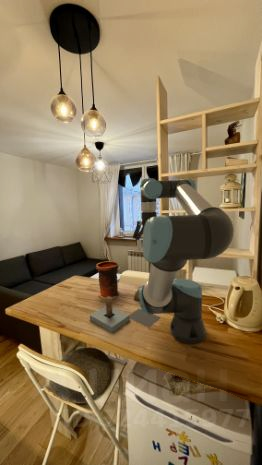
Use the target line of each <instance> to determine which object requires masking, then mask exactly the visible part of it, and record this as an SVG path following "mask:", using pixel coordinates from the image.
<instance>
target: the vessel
mask: <svg viewBox="0 0 262 465" xmlns="http://www.w3.org/2000/svg"><path fill="white" fill-rule="evenodd" d="M119 267H120V266H119V263H118V262H116V261H112V260H108V261H107V260H106V261H101V262H99V263H97V264H96V265H95V269H96V271H97V273H98V284H99V285H98V286H99V291H100V293H99V294H98V296H99V297H100V298H101V299H105V300H106V297H109V296H110V297H112V299H114V298H116V297H117V296H119V295H120V292H119V288H118V285H119V284H118V283H119V282H118V273H119V271H118V269H119Z"/></svg>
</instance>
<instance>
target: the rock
mask: <svg viewBox="0 0 262 465" xmlns="http://www.w3.org/2000/svg"><path fill="white" fill-rule="evenodd" d="M133 300H134V301H140V297H139V288H138V289H137V291H135V292H134V296H133Z"/></svg>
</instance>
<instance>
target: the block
mask: <svg viewBox="0 0 262 465" xmlns="http://www.w3.org/2000/svg"><path fill="white" fill-rule="evenodd" d="M112 312H113V316H112V317H111V318H107V314H106V305H104V306H103V307H102V308H100V309H99V308H98V310H96V311H95V312H93V313H91V314H89V321H91V322H93V323H94V324H96V325H98V326H100V327H102V328H103V329H105V330H107V331H109V332H110V333H114V332H115V331H117V330H118V329H119V328H122V326H124V325H125V324H126V323H128V322H129V321H131V319H130V314H128V313H126V312H123V311H122V310H120V309H117V308H115V307H113V306H112Z"/></svg>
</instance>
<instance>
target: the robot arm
mask: <svg viewBox="0 0 262 465" xmlns="http://www.w3.org/2000/svg"><path fill="white" fill-rule="evenodd" d="M139 188H140V212H141V214H140V215H141V217H140V218H141V220H137V221H136V227H135V228H134V232H133V234H132V239H134V240H135V245H136V248H137V249H136V250H137V253H140V252H142V254H143V257H144V260H145V261H146V262H149V263H150V266H149V275H148V281H147V282H145V284H143V285H139V287H138V289H139V297H140V300H139V305H140V309H141V311H142V313H143V314H148V315H151V314H154V315H161V314H173V315H172V319H171V322H170V325H169V331H170V334H171V336H172V337H173V338H174V339H175V341H178V342H180V343H183V344H188V345H197V344H199V343H202V342H203V341H205V339H206V337H207V329H206V326H205V323H204V320H203V315H202V314H203V311H202V310H203V288H202V286H201V285H200V284H199V283H198V282H196V281H194V280H192V279H188V278H176V277H177V273H178V272H179V271H181V270H182V269H183V268H184V267H185V266H186V265H187V264H188V263H187V262H188V261H195V260H196V261H197V260H210V259H213V258H217V257H218V256H220V255H222V254H223V253H224V252H225V251H227V250H228V249H229V247H230V245H231V244H232V241H233V238H234V231H235V230H234V224H233V222H232V219H231V218H230V216H229V215H228V214H227V212H225V211H224V210H223V209H221V208H220V207H218V206H213V205H212V204H211V203H210V202H209V201H208V200H207V199H205V198H204V197H203V195H201V194H200V193H199V192H198V191H197V190H196V188H197V187H196V181H195V180H193V179H187V178H184V179H171V180H170V179H169V180H166V179H165V180H156V179H155V178H143V179H141V180H140V186H139ZM174 198H175V199H176V200H177V201H178V203H179V204H180V206H181V207H182V209H183V210H184V211H185V213H186V214H184V215H183V214H181V215H165V214H162V215H160V216H159V215H158V216H157V214H158V212H157V209H158V208H157V199H174ZM141 238H142V239H141ZM175 278H176V279H175Z"/></svg>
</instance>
